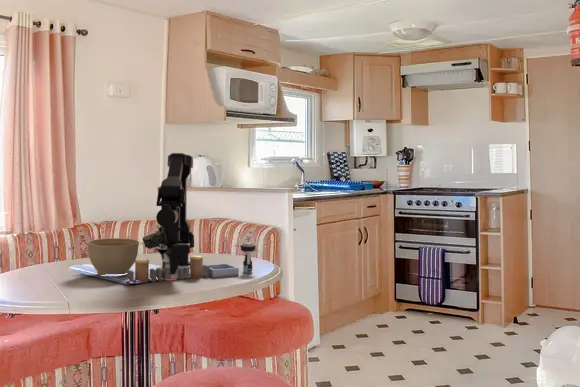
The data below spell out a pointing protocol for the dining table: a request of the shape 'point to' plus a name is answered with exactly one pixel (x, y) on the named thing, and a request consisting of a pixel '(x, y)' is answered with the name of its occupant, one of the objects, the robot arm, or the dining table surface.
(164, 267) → the pill bottle
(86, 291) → the dining table surface
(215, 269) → the tray
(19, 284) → the dining table surface
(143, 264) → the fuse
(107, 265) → the planter bowl
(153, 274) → the clip row
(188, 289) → the dining table surface
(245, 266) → the push button
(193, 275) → the tan cylinder
